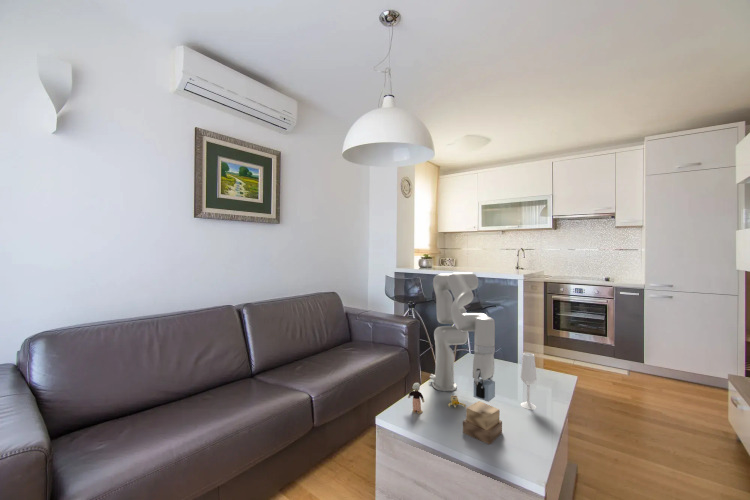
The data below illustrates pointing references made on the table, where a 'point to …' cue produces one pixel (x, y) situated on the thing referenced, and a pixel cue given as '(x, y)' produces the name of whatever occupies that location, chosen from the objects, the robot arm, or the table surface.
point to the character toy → (455, 401)
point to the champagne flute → (528, 376)
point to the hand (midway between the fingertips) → (484, 394)
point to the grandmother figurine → (416, 398)
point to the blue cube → (487, 390)
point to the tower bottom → (482, 431)
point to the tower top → (482, 415)
